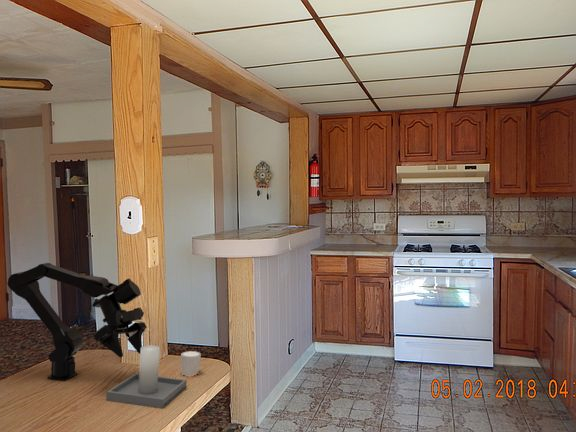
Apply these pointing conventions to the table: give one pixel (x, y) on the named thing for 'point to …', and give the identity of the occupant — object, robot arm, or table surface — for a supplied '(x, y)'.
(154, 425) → the table surface
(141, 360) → the candle
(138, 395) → the tray
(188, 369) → the shot glass
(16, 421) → the table surface
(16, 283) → the robot arm
